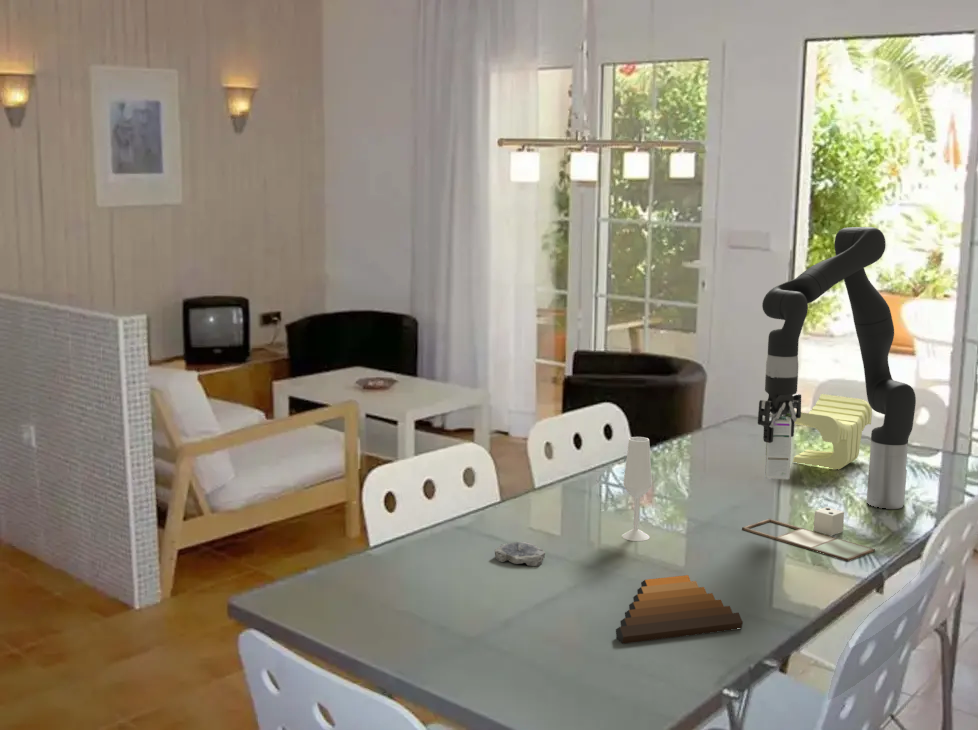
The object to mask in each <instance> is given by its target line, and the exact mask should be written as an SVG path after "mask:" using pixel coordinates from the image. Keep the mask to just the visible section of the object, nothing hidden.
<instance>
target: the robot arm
mask: <svg viewBox="0 0 978 730" xmlns="http://www.w3.org/2000/svg"><path fill="white" fill-rule="evenodd" d="M886 242H887V241H886V238H885V235H884V233H883V232H882V231H881V229H879V228H876V227H874V226H873V227H872V226H859V227H858V226H854V227H852V226H851V227H843V228H841V229H840V230H839V231H837V233H836V235H835V237H834V252H835V255H834V256H831V257H829V258H827V259H825V260H822V261H819V262H817V263H815V264H813V265H812V266H810V267H808V268H807V269H806V270H804V271H803V272H801V273H800V274H799V275H798V276H797V277H796V278H795V277H794V279H791V280H788V281H786V282H785V281H784V283H783V282H782V283H781V284H779V285H777V286H775V287H773V288H771V289H770V290H769V291H768V292H767V293H766V294H765V296H764V298H763V300H762V306H761V307H762V311H763V313H764V314H765V315H766V316H767V317H769V318H771V319H775V320H782V321H784V323H783V325H782V328H778V329H777V328H776V329H773V330H771V331H770V332H769V334H768V339H767V340H768V342H767V357H766V363H765V381H764V382H765V383H764V391H765V392H766V394H768V397H767V398H768V399H766V400H764V399H760V400H759V402H758V414H757V425H759V426H762V427H763V435H762V436H763V438H762V439H763V441H764V442H765V443H766V442H768V443H771V442H773V429H774V428H773V426H774V423H775V421H776V420H778V419H779V417H780V416H789V417H791V438H793V437H794V435H795V434H794V433H795V422H796V419H797V418H800V417H801V412H802V394H800V393H798V382H799V340H800V336H801V334H802V330H803V327H804V324H805V321H806V317H807V315H808V310H809V309H808V308H809V304H810V303H813V302H815V301H816V300H817V299H819V298H820V297H821V296H823V295H824V294H825V293H826V292H828V290H830V289H831V288H833V287H834V286H835V285H837V284H839V283H840V282H842V281H843V282H844V285H845V288H846V291H847V295H848V299H849V305H850V308H851V313H852V318H853V319H852V320H853V324H854V328H855V333H856V337H857V339H858V341H857V342H858V344H859V350H860V355H861V361H862V364H863V365H862V366H863V372H864V380H865V383H864V384H865V391H866V392H865V393H866V398H867V402H868V403H869V405H870V406H871V409H872V411H874V412H876V413H879V414H882V415H884V418H883V423H882V425H881V426H877V427H874V428H873V429H872V430H871V433H870V434H871V435H870V436H871V437H870V448H869V449H870V450H869V451H870V452H869V460H868V461H869V462H868V464H869V465H868V475H867V476H868V477H867V491H866V501H865V502H866V504H867V503H868V504H869V506H870V505H871V506H870V507H873V506H874V507H873V508H877V507H879V508H878V509H882V508H886V509H885V510H897V509H902V508H903V506H904V504H905V497H906V496H905V495H906V483H907V474H908V473H907V471H908V470H907V462H908V461H907V460H908V450H909V449H908V448H909V447H908V446H909V439H910V438H909V437H910V436H911V434H912V431H913V427H914V420H915V419H914V418H915V411H916V404H917V403H916V401H917V400H916V399H917V398H916V393H915V390H914V388H913V387H912V385H909V384H907V383H904V382H901V381H897V380H894V379H893V377H892V374H891V370H890V365H889V353H890V350H891V348H892V344H893V342H894V338H895V327H894V321H893V316H892V312H891V309H890V306H889V305H888V303H887V300H885V298H884V297H883V296H882V295H881V293H880V292H879V291H878V290H877V289H876V287H875V286H874V285H873V284H872V282H871V281H870V279H869V277H868V276H867V273H866V270H865V268H866V267H869V266H872V264H874V263H877V262H878V261H879V260H880V259H881V258H882V257H883V256H884V253H885V251H886V246H887V245H886V244H887V243H886ZM795 409H796V410H795ZM795 412H797V413H795ZM763 418H764V419H763ZM769 419H771V421H770V422H769ZM868 504H867V505H868Z"/></svg>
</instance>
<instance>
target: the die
mask: <svg viewBox="0 0 978 730" xmlns="http://www.w3.org/2000/svg"><path fill="white" fill-rule="evenodd" d="M813 517H814V518H813V519H814V520H813V531H814V532H818V533H821V534H825V535H828V536H832V537H833V536H835V535H837V534H840V533H843V531H844V519H845V511H842V510H839V509H835V508H831V507H827V506H826V507H825V506H824V507H822V508H820V509H817V510H814V516H813Z"/></svg>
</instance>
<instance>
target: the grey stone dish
mask: <svg viewBox="0 0 978 730" xmlns="http://www.w3.org/2000/svg"><path fill="white" fill-rule="evenodd" d="M545 554H546V551H544V550H543V548H540V547H538V546H536V545H535V544H533V543H530V542H525V541H515V542H510V543H508V542H507V543H505V544H504V543H503V544H500V545H499V547H497V548H496V549H494V558H495V559H496V560H497V561H498V562H501V563H505V562H507V561H508V562H510V563H512V564H515V565H517V564H526V565H527V566H531V567H538V566H541V565H542V564H543V561H544V559H545Z"/></svg>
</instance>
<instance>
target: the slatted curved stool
mask: <svg viewBox="0 0 978 730" xmlns="http://www.w3.org/2000/svg"><path fill="white" fill-rule="evenodd" d="M795 413H797V411H795ZM872 414H873V409H872V408H871V406H870V405H869V402H868V400H865V399H862V398H859V397H858V398H855V397H850V396H849V397H848V396H840V395H833V394H828V393H827V394H825V393H820V396H819V397H818V399H817V401H816V402H815V405H814V406H813V407H812V408H811V410H810V411H809V412H803V411H801V417H800V418H797V419H796V422H795V423H794V425H801V426H806V427H809V428H813V429H816V430H817V431H818V433H819V434H820V435H821V439H822V442H825V443H832V444H831V445H832V447H833V451H822V450H814V449H813V450H812V449H808V448H807V449H805V450H804V451H802V452H800V453H798V454H797V455H794V457H793V461H792V463H793V462H797V463H805V464H812V465H819V466H824V467H829V468H833V469H838V470H840V469H843V468H844V467H846V466H847V465H849V464H850V463H852V462H854V461H855V460H856V459H858V457H859V454H860V447H861V443H862V435H863V431H864V430H865V428H866V426H868V425H872V416H873V415H872ZM838 470H837V471H838Z"/></svg>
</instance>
